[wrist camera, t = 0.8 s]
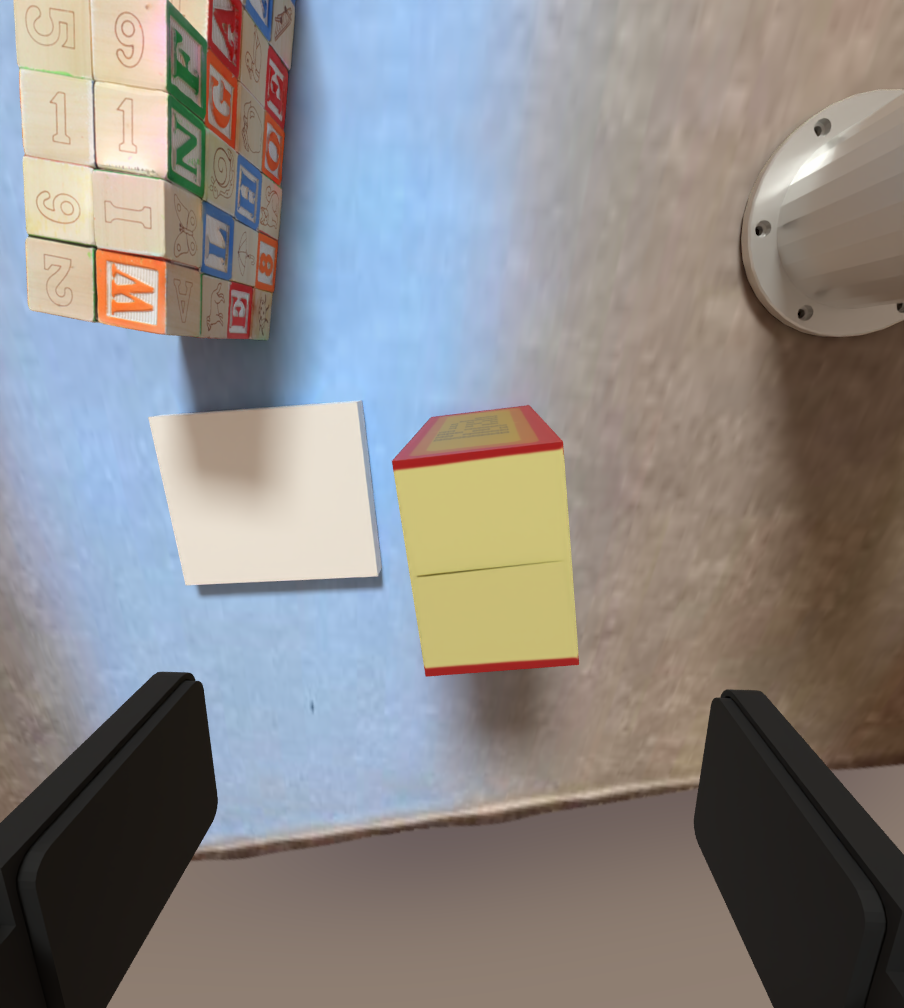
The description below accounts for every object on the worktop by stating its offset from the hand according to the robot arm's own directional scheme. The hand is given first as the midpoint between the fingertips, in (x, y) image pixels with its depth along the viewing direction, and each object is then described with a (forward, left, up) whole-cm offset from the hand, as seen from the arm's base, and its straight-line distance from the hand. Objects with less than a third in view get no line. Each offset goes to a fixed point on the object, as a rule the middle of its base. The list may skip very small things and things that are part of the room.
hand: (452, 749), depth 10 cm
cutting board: (+14, +1, -28) cm, 31 cm away
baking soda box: (-1, +1, -28) cm, 28 cm away
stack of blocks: (+13, -20, -28) cm, 37 cm away
